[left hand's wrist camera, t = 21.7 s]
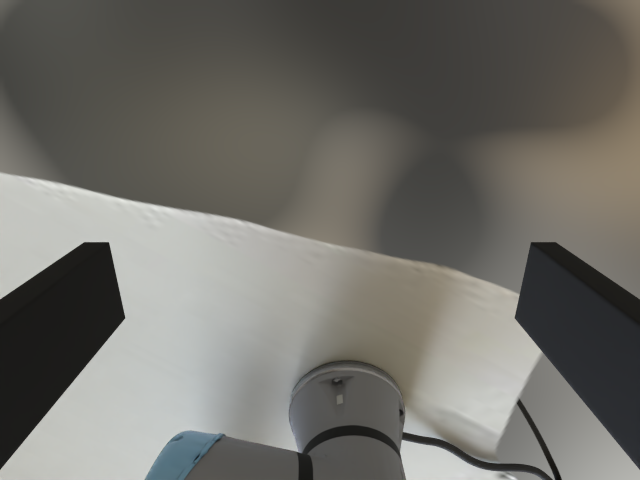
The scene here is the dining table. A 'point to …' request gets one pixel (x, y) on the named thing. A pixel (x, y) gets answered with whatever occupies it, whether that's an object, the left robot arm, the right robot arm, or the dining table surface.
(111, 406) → the dining table surface
